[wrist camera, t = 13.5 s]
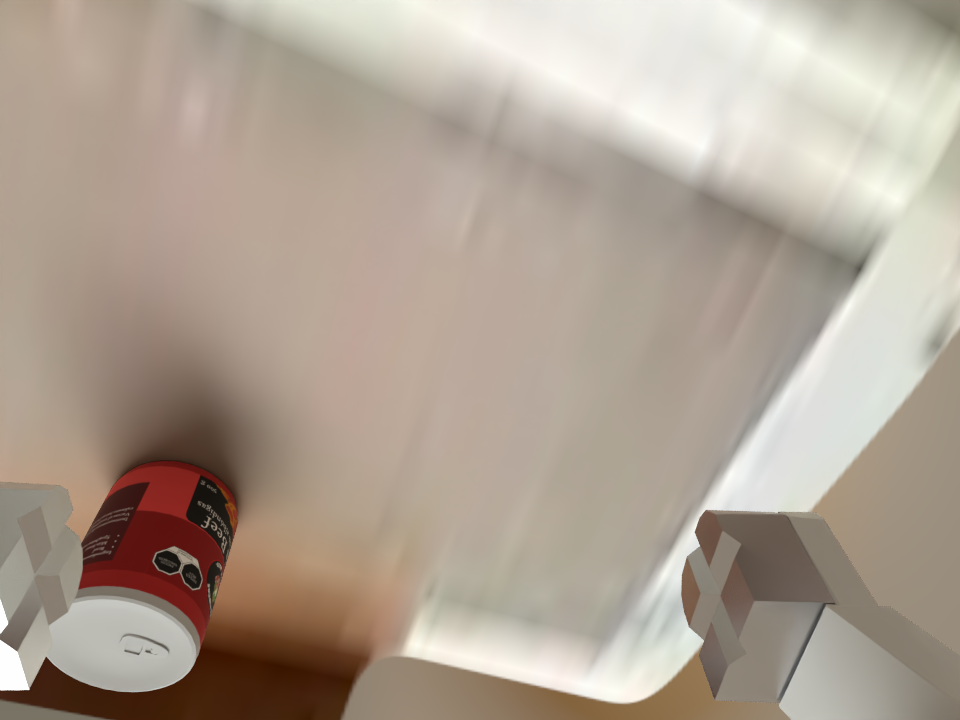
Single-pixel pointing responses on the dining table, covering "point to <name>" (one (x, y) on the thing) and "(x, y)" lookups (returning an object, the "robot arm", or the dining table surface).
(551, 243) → the dining table surface
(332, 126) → the dining table surface
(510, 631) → the dining table surface
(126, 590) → the canned food
